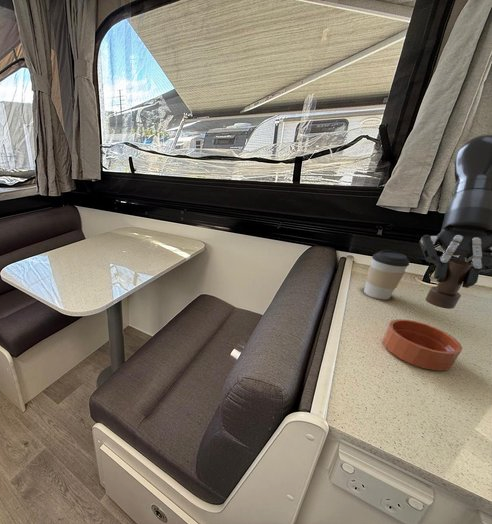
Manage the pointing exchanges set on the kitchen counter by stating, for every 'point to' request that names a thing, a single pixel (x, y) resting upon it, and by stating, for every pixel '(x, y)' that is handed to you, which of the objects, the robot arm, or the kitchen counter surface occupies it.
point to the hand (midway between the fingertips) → (453, 283)
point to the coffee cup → (385, 273)
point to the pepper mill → (449, 285)
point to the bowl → (421, 344)
